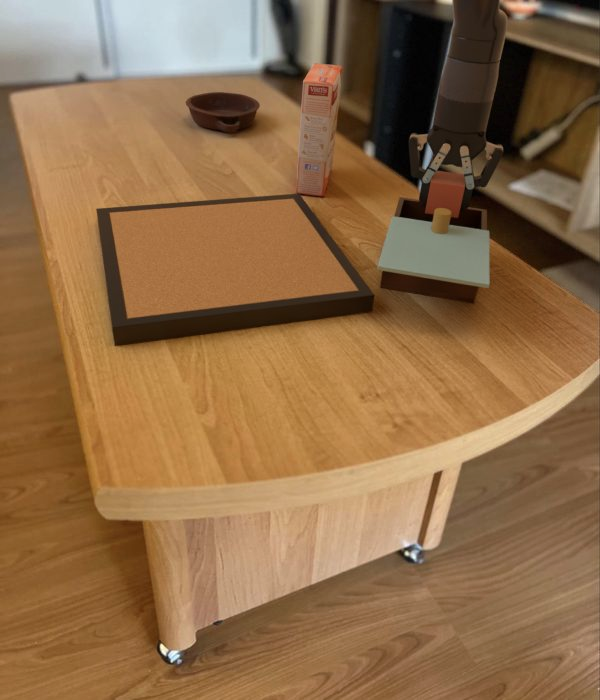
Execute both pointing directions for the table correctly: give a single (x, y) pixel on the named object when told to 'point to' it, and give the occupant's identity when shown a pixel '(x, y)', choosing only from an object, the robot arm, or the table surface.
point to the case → (425, 285)
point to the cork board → (222, 267)
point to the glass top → (437, 250)
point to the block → (446, 192)
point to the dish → (223, 110)
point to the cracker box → (318, 128)
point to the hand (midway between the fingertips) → (443, 206)
